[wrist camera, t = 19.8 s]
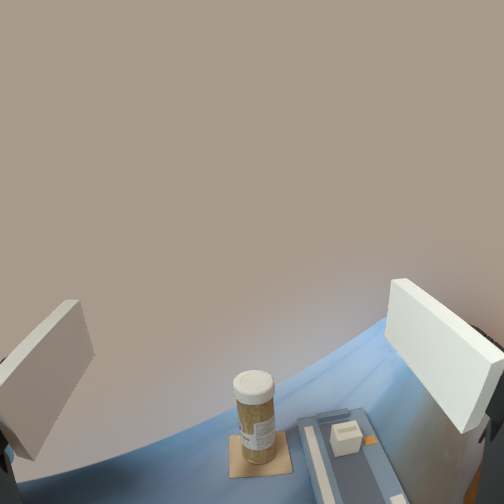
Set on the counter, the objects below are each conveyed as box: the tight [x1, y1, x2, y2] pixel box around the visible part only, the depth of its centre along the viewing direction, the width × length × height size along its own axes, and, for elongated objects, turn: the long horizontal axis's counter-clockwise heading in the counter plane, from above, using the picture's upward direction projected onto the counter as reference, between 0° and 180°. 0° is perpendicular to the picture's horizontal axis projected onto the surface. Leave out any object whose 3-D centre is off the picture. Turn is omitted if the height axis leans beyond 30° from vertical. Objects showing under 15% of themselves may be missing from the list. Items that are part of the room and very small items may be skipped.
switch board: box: [297, 408, 410, 504], centre depth 31 cm, size 10×22×2 cm, turn 3°
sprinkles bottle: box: [233, 370, 276, 464], centre depth 35 cm, size 5×5×13 cm
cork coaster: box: [229, 431, 293, 478], centre depth 36 cm, size 8×8×1 cm
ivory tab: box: [330, 420, 363, 457], centre depth 34 cm, size 3×3×4 cm
